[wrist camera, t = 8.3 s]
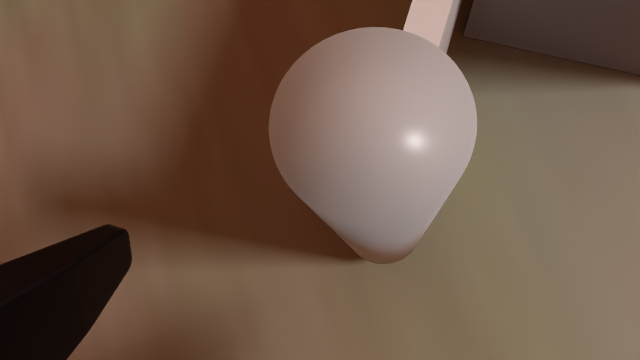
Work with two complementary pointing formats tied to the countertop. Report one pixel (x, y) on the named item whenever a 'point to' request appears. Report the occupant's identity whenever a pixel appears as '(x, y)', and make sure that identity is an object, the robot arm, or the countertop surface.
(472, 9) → the grey box
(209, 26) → the countertop surface
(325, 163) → the side door
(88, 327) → the robot arm
